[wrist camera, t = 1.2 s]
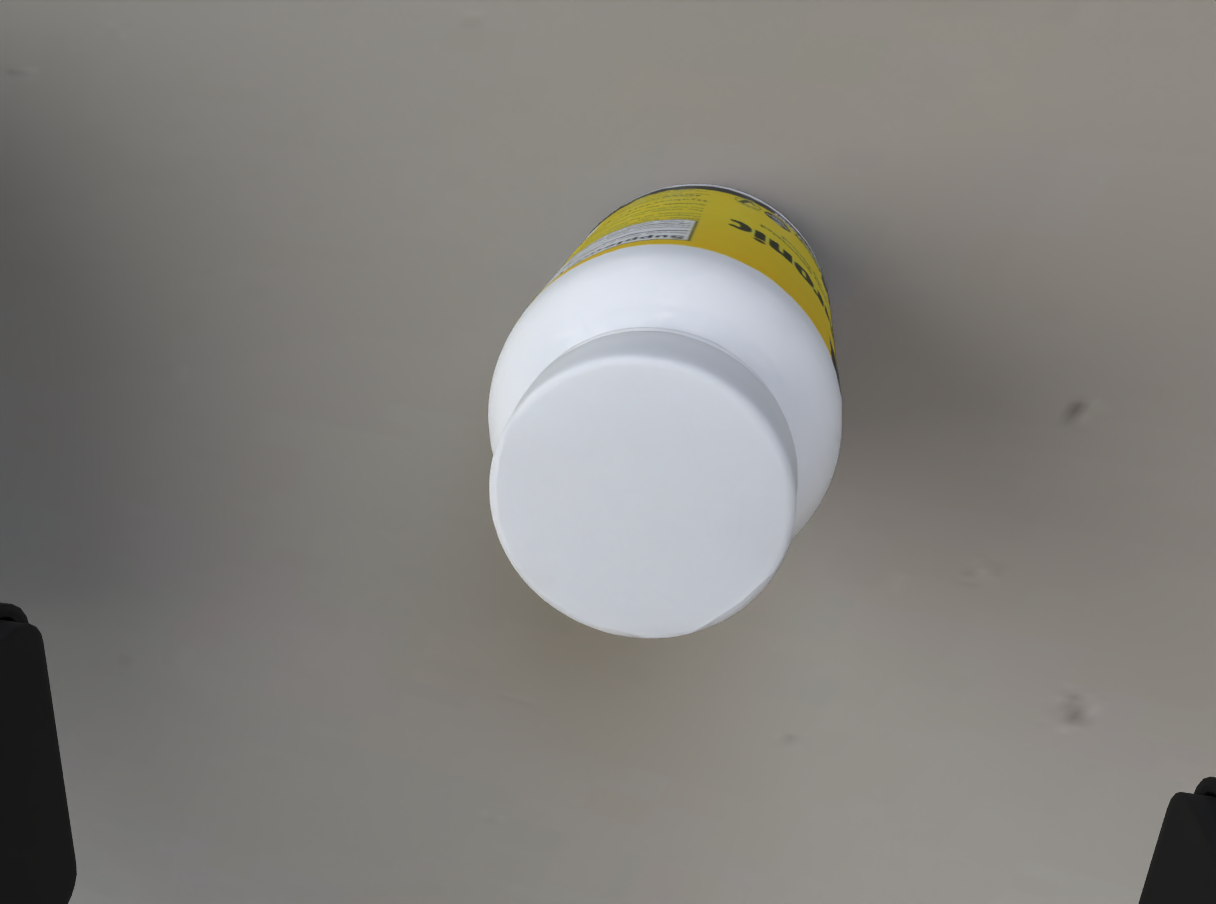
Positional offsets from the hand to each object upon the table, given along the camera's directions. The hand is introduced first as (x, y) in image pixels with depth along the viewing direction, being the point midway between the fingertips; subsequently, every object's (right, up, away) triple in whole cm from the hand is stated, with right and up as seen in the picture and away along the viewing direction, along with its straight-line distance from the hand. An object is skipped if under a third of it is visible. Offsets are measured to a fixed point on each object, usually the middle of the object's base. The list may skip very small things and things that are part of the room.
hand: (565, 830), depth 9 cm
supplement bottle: (+2, +6, +14) cm, 16 cm away
